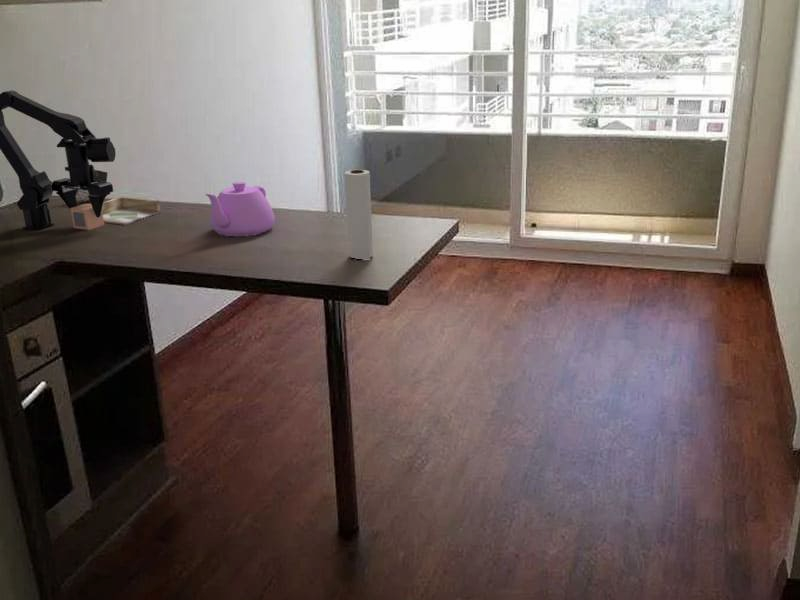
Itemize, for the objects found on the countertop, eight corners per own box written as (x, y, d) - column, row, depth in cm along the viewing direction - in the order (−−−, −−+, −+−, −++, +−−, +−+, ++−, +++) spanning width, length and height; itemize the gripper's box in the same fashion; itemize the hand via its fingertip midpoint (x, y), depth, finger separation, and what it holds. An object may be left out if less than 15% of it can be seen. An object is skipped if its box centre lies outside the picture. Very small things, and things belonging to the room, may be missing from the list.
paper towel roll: (351, 253, 201) (346, 168, 193) (374, 253, 200) (371, 168, 192) (346, 261, 194) (341, 174, 186) (370, 262, 193) (367, 174, 186)
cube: (88, 230, 229) (84, 209, 227) (73, 228, 232) (69, 208, 230) (104, 225, 235) (101, 205, 233) (89, 223, 237) (86, 203, 235)
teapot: (243, 217, 238) (238, 172, 233) (292, 223, 230) (288, 176, 226) (186, 239, 217) (180, 189, 213) (238, 246, 210) (233, 195, 205)
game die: (91, 211, 268) (99, 184, 270) (98, 206, 261) (106, 178, 263) (64, 201, 263) (73, 173, 265) (70, 196, 256) (79, 167, 259)
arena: (124, 224, 234) (122, 211, 232) (86, 220, 240) (84, 207, 239) (160, 213, 246) (158, 200, 245) (123, 209, 253) (121, 196, 251)
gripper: (123, 159, 230) (130, 212, 235) (76, 155, 238) (85, 206, 243) (93, 166, 220) (102, 221, 226) (46, 162, 228) (55, 215, 234)
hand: (86, 215), depth 232 cm, fingers open, 9 cm apart
